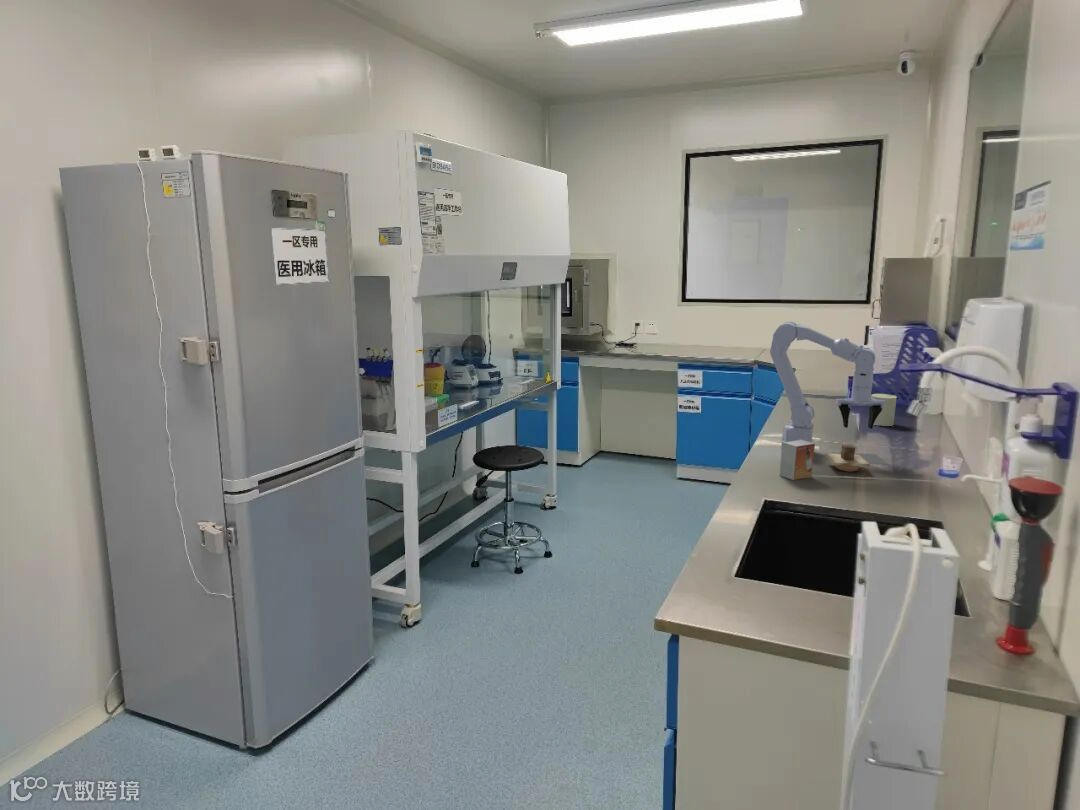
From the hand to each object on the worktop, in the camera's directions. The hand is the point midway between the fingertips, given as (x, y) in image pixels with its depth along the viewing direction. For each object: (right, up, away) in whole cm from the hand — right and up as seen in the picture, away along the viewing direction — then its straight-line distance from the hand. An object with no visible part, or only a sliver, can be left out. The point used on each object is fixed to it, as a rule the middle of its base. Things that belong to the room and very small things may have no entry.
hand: (857, 427), depth 225 cm
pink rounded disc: (-9, -13, -12) cm, 20 cm away
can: (+32, -1, +50) cm, 59 cm away
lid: (-9, -10, -12) cm, 18 cm away
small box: (-27, -14, -17) cm, 35 cm away
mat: (+1, -11, 0) cm, 11 cm away
